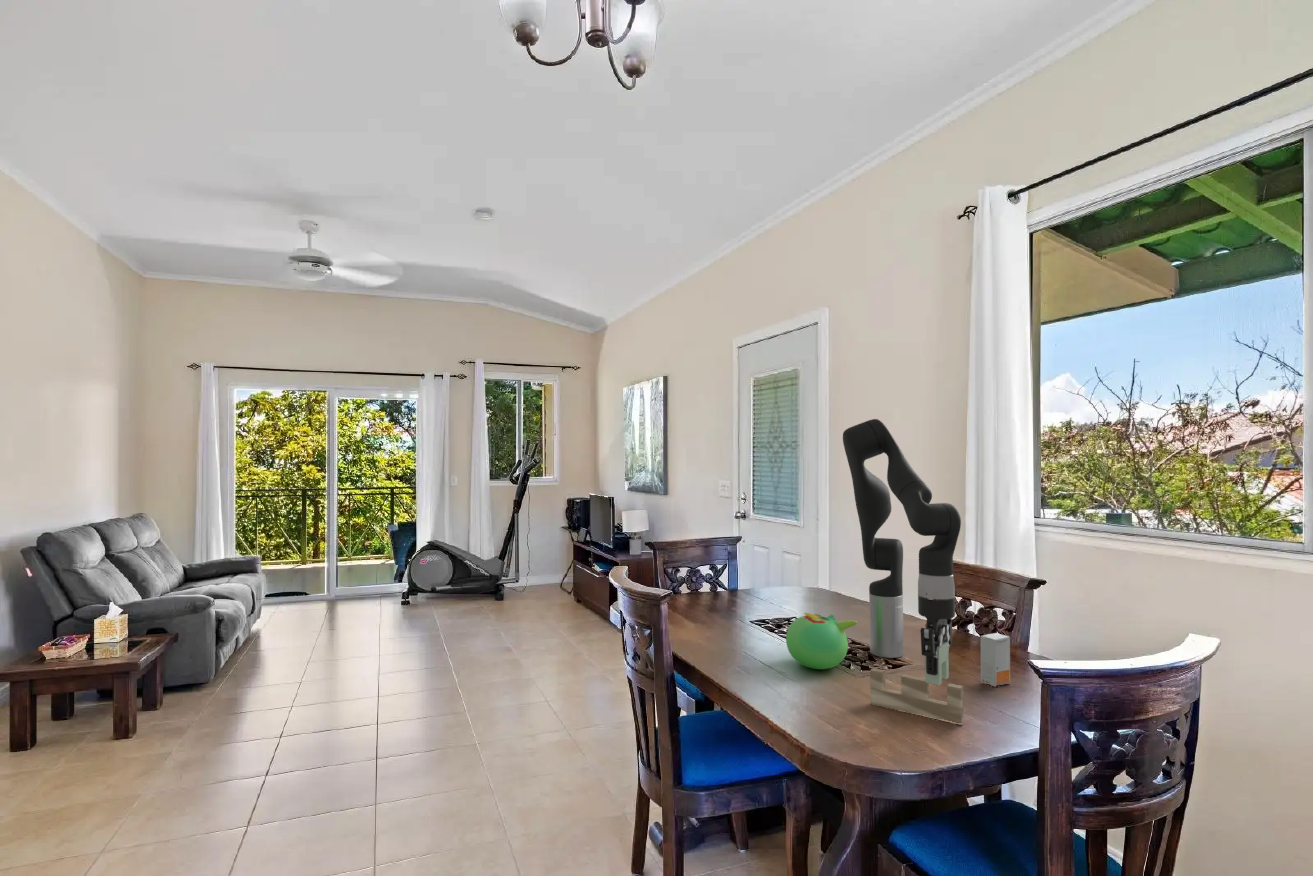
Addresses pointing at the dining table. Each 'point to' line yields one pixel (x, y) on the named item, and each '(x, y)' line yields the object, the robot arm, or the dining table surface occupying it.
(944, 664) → the notched block
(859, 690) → the dining table surface
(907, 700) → the maple board
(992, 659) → the skincare box
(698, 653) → the dining table surface
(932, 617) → the robot arm
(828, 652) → the toy bird
